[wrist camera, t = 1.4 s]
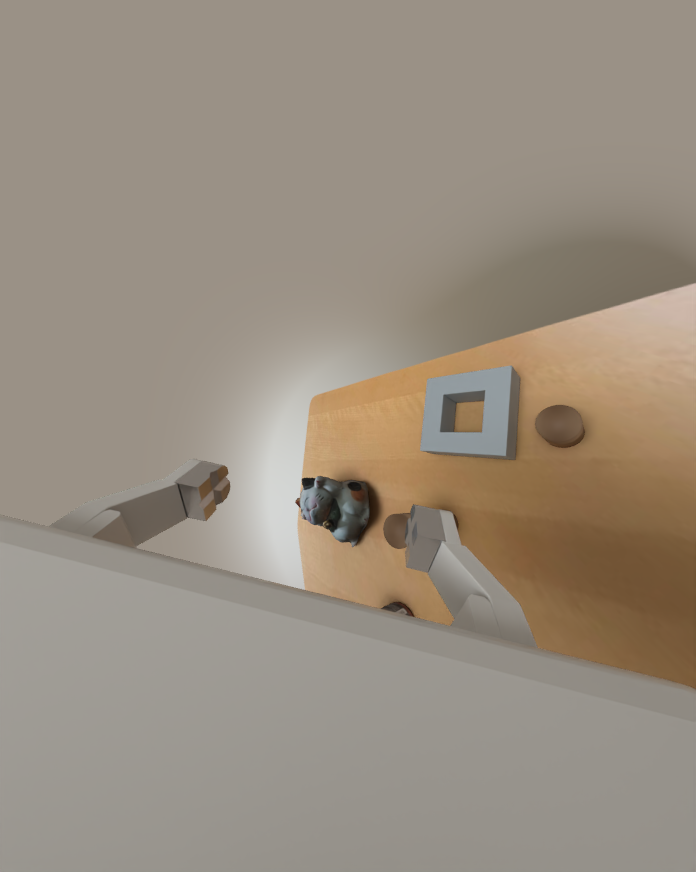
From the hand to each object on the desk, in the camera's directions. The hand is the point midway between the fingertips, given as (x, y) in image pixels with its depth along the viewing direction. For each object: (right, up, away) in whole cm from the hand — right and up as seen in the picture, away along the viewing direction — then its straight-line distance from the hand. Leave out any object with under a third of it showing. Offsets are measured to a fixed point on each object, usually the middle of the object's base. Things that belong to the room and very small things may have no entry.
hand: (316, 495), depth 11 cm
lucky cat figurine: (+2, -14, +45) cm, 47 cm away
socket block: (+22, +5, +29) cm, 37 cm away
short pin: (+29, +3, +21) cm, 36 cm away
